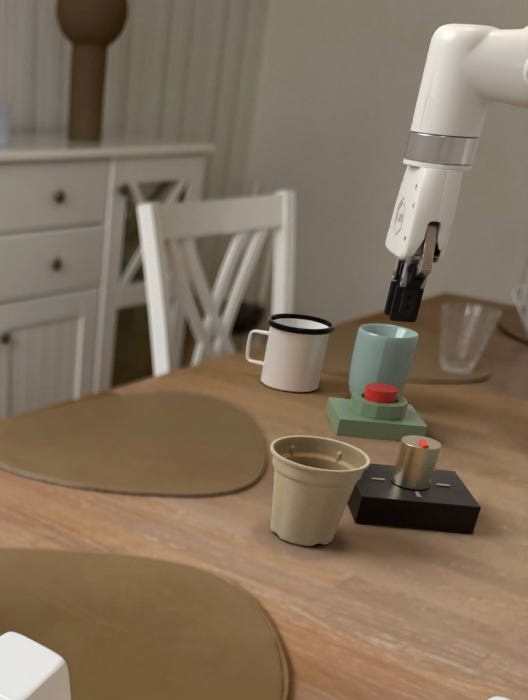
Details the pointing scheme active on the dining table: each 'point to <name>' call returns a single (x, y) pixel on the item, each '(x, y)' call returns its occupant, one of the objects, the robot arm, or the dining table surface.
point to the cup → (382, 356)
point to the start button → (381, 393)
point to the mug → (293, 351)
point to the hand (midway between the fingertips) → (399, 317)
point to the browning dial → (416, 462)
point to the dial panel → (413, 502)
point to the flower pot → (312, 486)
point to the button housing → (374, 418)
